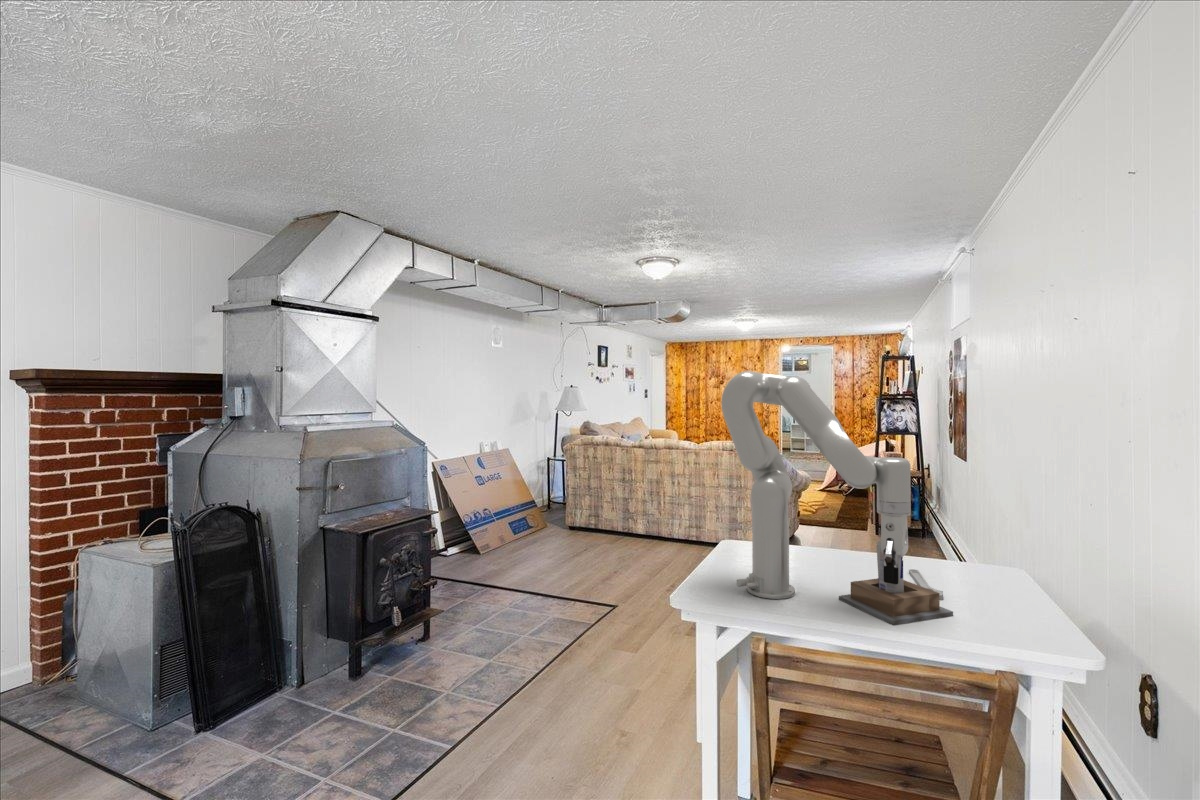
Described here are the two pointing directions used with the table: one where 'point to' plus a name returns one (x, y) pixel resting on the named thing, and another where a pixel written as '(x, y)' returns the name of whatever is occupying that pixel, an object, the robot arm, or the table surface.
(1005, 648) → the table surface
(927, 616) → the holder
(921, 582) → the adjustable wrench
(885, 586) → the beverage can
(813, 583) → the table surface
